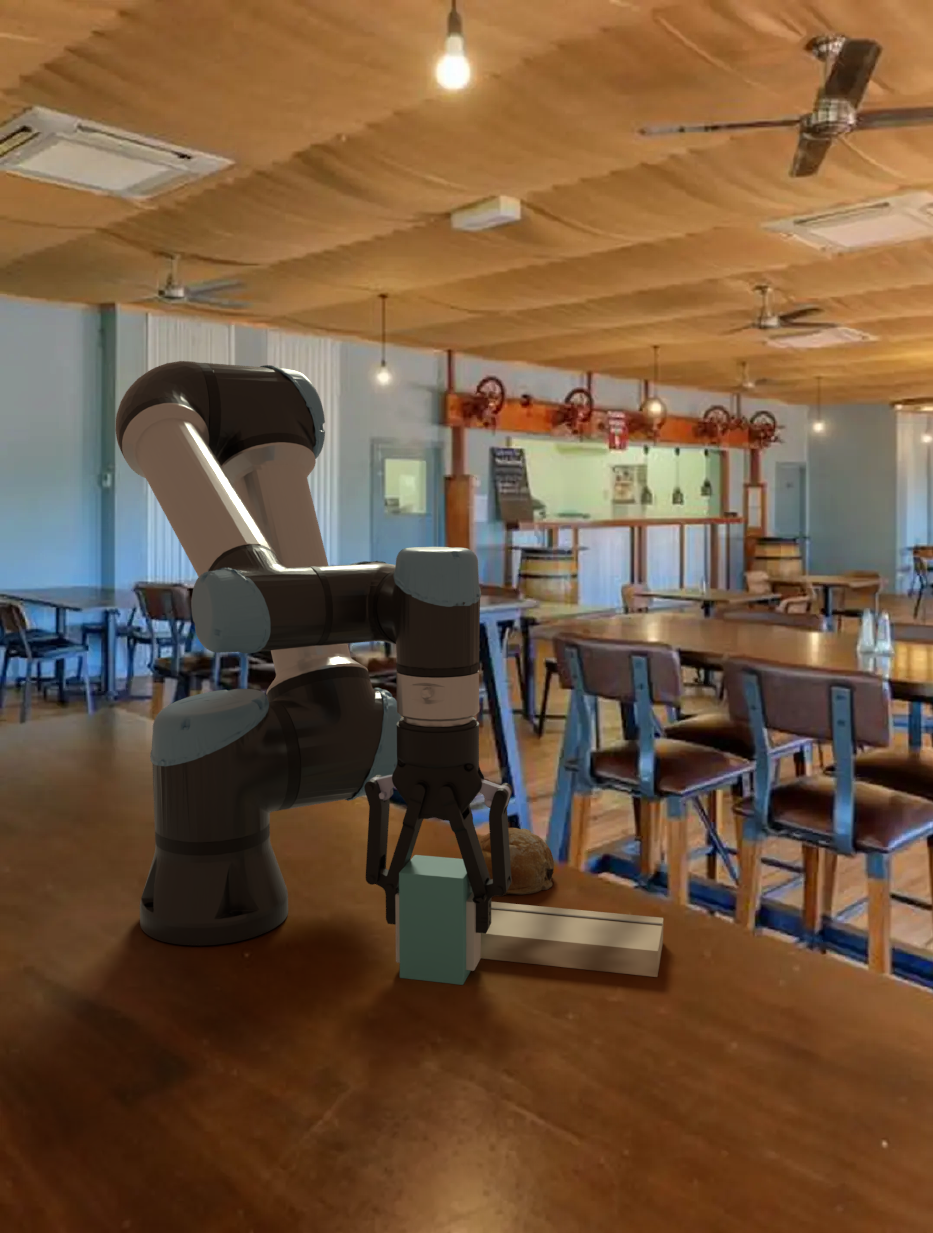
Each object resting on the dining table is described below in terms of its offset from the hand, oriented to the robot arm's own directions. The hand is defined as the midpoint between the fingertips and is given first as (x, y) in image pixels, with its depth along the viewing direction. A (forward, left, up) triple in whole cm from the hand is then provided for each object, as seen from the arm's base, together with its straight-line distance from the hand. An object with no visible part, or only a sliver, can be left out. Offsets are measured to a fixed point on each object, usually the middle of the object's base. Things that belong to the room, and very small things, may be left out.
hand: (438, 959), depth 101 cm
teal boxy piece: (0, +4, -1) cm, 4 cm away
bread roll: (+2, +24, -1) cm, 24 cm away
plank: (+9, +7, -1) cm, 11 cm away
